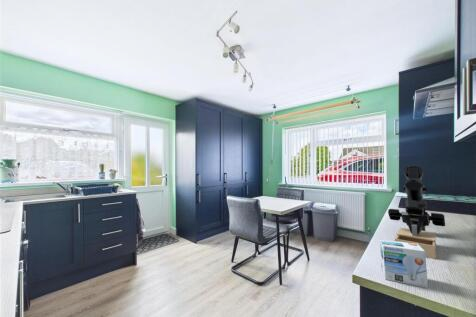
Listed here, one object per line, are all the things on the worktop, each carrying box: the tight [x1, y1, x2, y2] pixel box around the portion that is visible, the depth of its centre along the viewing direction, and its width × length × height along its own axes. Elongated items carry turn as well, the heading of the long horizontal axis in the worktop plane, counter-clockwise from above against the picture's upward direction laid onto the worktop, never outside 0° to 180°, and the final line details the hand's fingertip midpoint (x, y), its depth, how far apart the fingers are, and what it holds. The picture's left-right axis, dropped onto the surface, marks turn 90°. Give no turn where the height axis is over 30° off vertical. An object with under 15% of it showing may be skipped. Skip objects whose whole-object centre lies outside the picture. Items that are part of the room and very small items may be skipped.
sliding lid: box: [396, 224, 437, 241], centre depth 88 cm, size 12×12×5 cm
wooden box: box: [394, 234, 437, 260], centre depth 83 cm, size 12×12×5 cm
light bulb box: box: [379, 239, 429, 289], centre depth 63 cm, size 11×7×11 cm, turn 62°
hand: (414, 233), depth 84 cm, fingers closed on sliding lid, 2 cm apart
